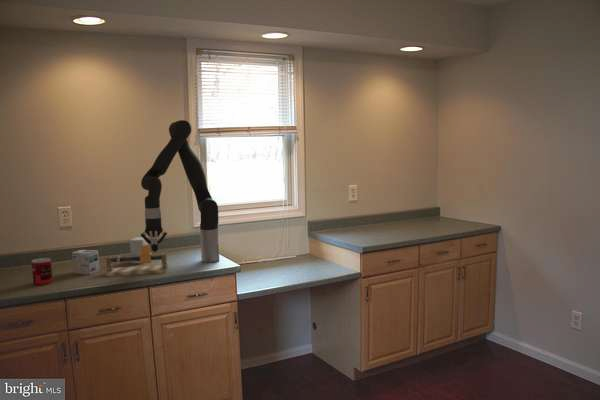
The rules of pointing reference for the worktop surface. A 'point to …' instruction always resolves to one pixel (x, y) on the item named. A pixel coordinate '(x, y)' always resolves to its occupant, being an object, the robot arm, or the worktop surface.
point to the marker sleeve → (145, 254)
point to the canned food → (42, 271)
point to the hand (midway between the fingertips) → (155, 251)
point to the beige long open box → (135, 270)
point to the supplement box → (136, 247)
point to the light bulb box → (85, 262)
